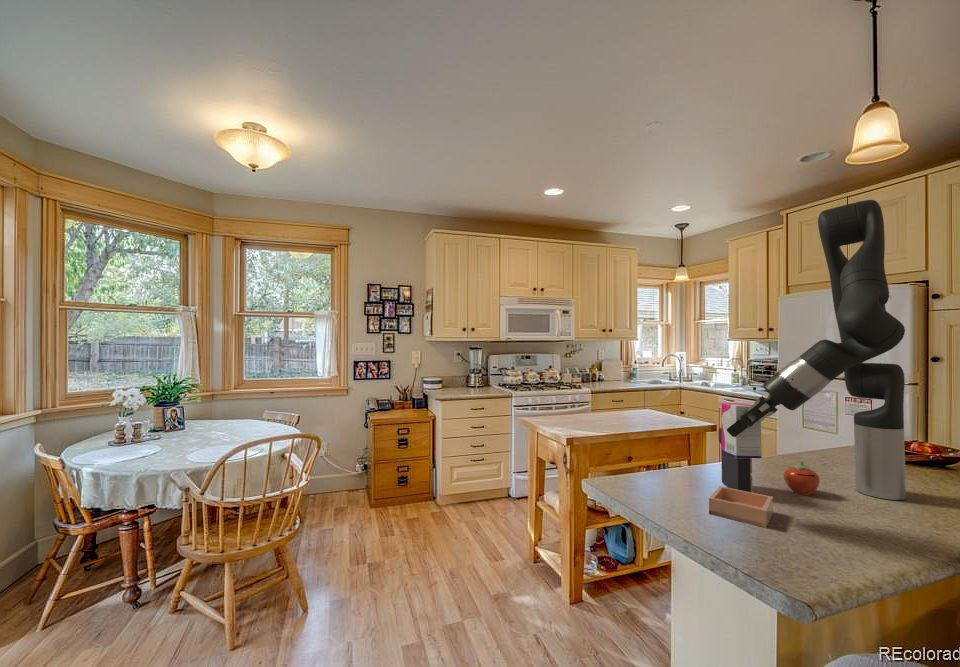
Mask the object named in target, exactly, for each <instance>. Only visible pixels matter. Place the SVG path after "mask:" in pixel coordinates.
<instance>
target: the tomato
mask: <svg viewBox="0 0 960 667" xmlns="http://www.w3.org/2000/svg"><path fill="white" fill-rule="evenodd" d="M783 479H784V482H785V484H786V485H787V487H788V488H789V489H790V490H791V491H792V492H793V493H795V494H798V495H803V496H810V495H812V494H813V493H815V492H816V491H817V490H818V488H819V485H820V482H821V481H820V480H821V479H820V476H819V474H818V473H817V472H816V471H814V470H813V469H811V468H810V467H809V466H808V465H806V464H804V462H803V461H802V460H799V461H798V463H797V464H792V465H791V466H789V467H787V468H785V470H784V471H783Z"/></svg>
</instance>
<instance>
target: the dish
mask: <svg viewBox="0 0 960 667" xmlns="http://www.w3.org/2000/svg"><path fill="white" fill-rule="evenodd" d="M708 514H709V515H712V516H716V517H720V518H725V519H729V520H733V521H737V522H740V523H744V524H749V525H753V526H756V527H760V528H765V529H767V528H768V525H769V523H770V521H771V518H772V516H773V515H774V496H772V495H771V496H769V495H765V494H760V493H756V492H753V493H751V492H746V491H741V490H737V489H732V488H728V487H727V486H726V487H725V486H723V485H722V486H721V485H720V486H718V487H717V488H716V489H715V490H714V492H712V494H711V495H710V496H709V497H708Z"/></svg>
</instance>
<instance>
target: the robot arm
mask: <svg viewBox="0 0 960 667" xmlns="http://www.w3.org/2000/svg"><path fill="white" fill-rule="evenodd" d="M817 226H818V233H819V238H820V241H821V245H822V249H823V253H824V257H825V261H826V263H827V264H826V265H827V269H828V273H829V274H828V275H829V278H830V287H831V288H830V289H831V294H832V302H833V307H834V308H833V310H834V316H835V318H836V323H837V324H836V325H837V328H838V334H839V338H840V342H835V341H832V340H831V339H830V340H829V339H821V340H819V341H817V342H816V343H815V344H813V345H812V346H811V347H809V348H808V349H807V350H806V351H804V352H803V353H801V355H799V356H798V357H797V358H795V359H794V360H792V361H790V362H789V363H787V364H786V365H785V366H784V367H782V368H781V369H779V370H778V371H777V372H776V373H775V374H773V375H772V376H771V377H769V379H767V380H766V381H764V382H763V384H762V386H763V389H764V390H765V391H766V393H768V394H769V395H767V397H766V398H765V397H764V396H760V397H759V398H758V399H757V400H755V401H754V402H753V404H751V405H752V406H751V407H749V408H748V409H747V410H746V414H744V415H742V416H741V417H740V418H739V420H738V421H736V422H735V423H734V424H733V425H731V426H730V427H729V428H727V432H728V433H729V434H730V435H731V436H732V437H736V436H737V435H739V434H740V433H741V432H743V431H744V430H745V429H747V428H749V427H752V426H753V424H754V423H756V422H757V423H760V422H761V423H762V421H764V420H765V419H767V418H768V417H771V416H772V415H773V414H775V413H777V411H779V410H778V409H777V406H780V405H782V406H783V407H784V408H786V409H787V410H790V411H795V410H796V409H798V408H799V407H801V406H802V405H804V403H807V402H808V401H809V400H810V399H812V398H814V396H816V395H817V394H819V393H820V392H821V391H823V390H824V389H825V387H827V386H828V384H830V383H831V382H832V381H834V380H835V379H837V378H838V377H839V376H840V375H842V374H843V375H844V383H845V388H846V390H847V392H848V394H849V395H850V396H852V397H854V398H858V399H859V398H860V399H872V400H882V401H883V400H884V403H883V405H881V406H880V407H877V408H874V409H868V410H861V411H858V412H856V413H854V415H853V436H854V439H853V440H854V441H853V442H854V473H855V474H854V475H855V476H854V478H855V479H854V480H855V491H856V492H859V493H861V494H864V495H866V496H871V497H875V498H879V499H884V500H885V499H886V500H892V501H902V500H903V501H904V500H906V499H907V490H906V489H907V488H906V487H907V486H906V482H907V481H906V452H905V451H906V449H905V445H906V444H905V421H904V420H905V419H904V418H905V417H904V414H905V413H904V407H905V406H904V401H905V400H904V399H905V398H904V397H905V372H904V369H903V368H902V367H901V366H900V365H899V364H897V363H884V362H883V363H880V362H879V363H877V362H876V363H875V362H873V363H872V362H866V361H869V360H872V359H873V358H876V357H878V356H881V355H883V354H885V353H887V352H889V351H890V350H893V349H894V348H895V347H897V346H898V344H900V342H901V341H902V340H903V338H904V336H905V333H906V328H905V325H903V323H902V322H901V321H900V320H899V319H897V318H896V317H894V316H893V315H892V314H891V313H889V312H888V311H887V309H886V305H887V303H888V301H889V299H890V290H889V289H890V288H889V284H888V279H887V275H886V269H885V249H886V247H885V245H886V243H885V222H884V215H883V211H882V208H881V205H880V203H879V202H877V201H876V200H874V199H867V200H865V199H864V200H861V201H856V202H851V203H849V204H844V205H840V206H835V207H832V208H829V209H827V208H826V209H825V210H822V211H820V213H819V215H818V218H817ZM858 243H862V244H861V245H860V247H859V248H858V249H857V250H856V252H855V253H854V254H853V255H852V256H851V257H850V258H849V259H848V258H847V257H846V256H845V254H844V252H843V251H842V250H843V249H841V247H844V246H848V245H853V244H858ZM747 415H749V416H751V417H752V418H753V419H754V421H753V422H752V421H751V420H750V419H749V418H748V417H747Z"/></svg>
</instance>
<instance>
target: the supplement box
mask: <svg viewBox="0 0 960 667" xmlns="http://www.w3.org/2000/svg"><path fill="white" fill-rule="evenodd" d="M720 404H721V428H722V452H723V453H725V454H728V455H730V456H732V457H734V458H752V459H762V452H763V451H762V448H763V447H762V421H761V422H760V423H757V422H756V423H754V424H753V426H752V427H749V428H747V429H745V430H744V431H743V432H741V433H740V434H739V435H737V436H736V437H732V436H731V435H730V434H729V433H728V432H727V428H729V427H730V426H731V425H733V424H734V423H735V422H736V421H738V420H739V418H740V417H741V416H742V415H744V414H746V410H747V409H748V408H749V407H751V406H752V405H753V404H750V403H744V402H742V403H739V402H738V403H737V402H735V403H732V402H731V403H730V402H729V403H728V402H721V403H720ZM747 417H748V418H749V419H750V420H751V421H752V422H753V421H754V419H753V418H752V417H751V416H749V415H747Z"/></svg>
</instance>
